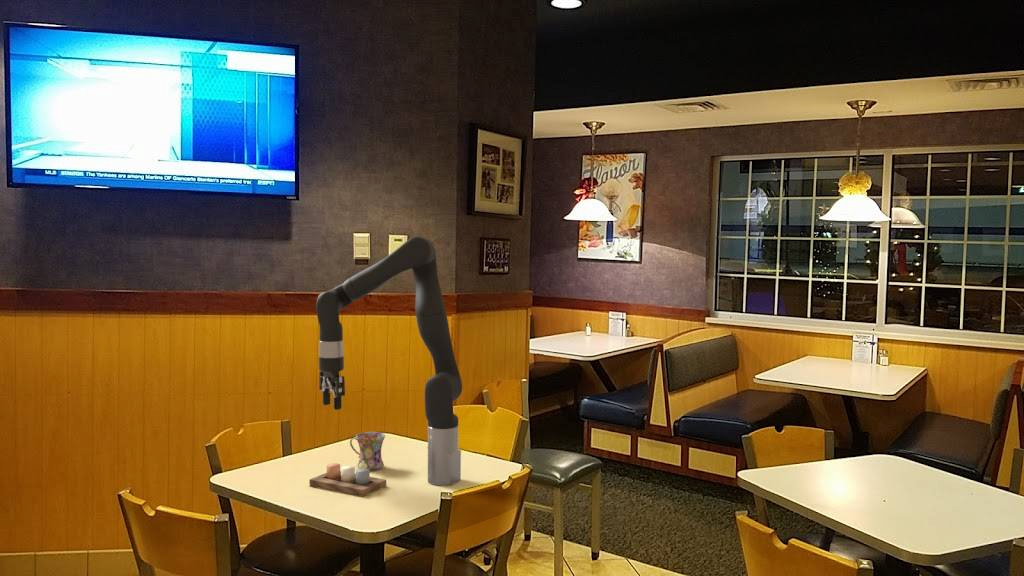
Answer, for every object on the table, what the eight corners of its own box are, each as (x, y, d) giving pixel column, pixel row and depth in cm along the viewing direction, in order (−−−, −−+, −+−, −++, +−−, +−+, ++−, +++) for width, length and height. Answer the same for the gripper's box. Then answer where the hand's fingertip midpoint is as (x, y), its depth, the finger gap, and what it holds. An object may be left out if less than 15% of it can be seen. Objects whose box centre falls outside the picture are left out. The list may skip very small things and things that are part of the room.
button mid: (357, 480, 238) (357, 467, 237) (348, 483, 234) (348, 470, 234) (346, 478, 240) (346, 465, 239) (338, 481, 236) (338, 468, 236)
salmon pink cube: (343, 477, 240) (343, 464, 240) (334, 480, 237) (334, 467, 236) (332, 475, 242) (332, 462, 242) (323, 478, 239) (323, 465, 238)
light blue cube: (372, 482, 235) (372, 469, 235) (363, 486, 232) (363, 473, 231) (361, 480, 237) (361, 467, 237) (352, 484, 234) (352, 471, 233)
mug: (390, 465, 259) (390, 433, 258) (376, 473, 250) (376, 440, 249) (357, 461, 262) (357, 430, 262) (343, 469, 254) (342, 436, 253)
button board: (386, 486, 237) (386, 479, 237) (363, 496, 228) (363, 490, 227) (333, 476, 246) (333, 469, 246) (309, 486, 237) (309, 479, 237)
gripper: (352, 356, 242) (352, 409, 243) (333, 351, 253) (334, 401, 254) (329, 359, 237) (329, 412, 238) (310, 353, 249) (311, 404, 250)
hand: (332, 406), depth 246 cm, fingers open, 8 cm apart
